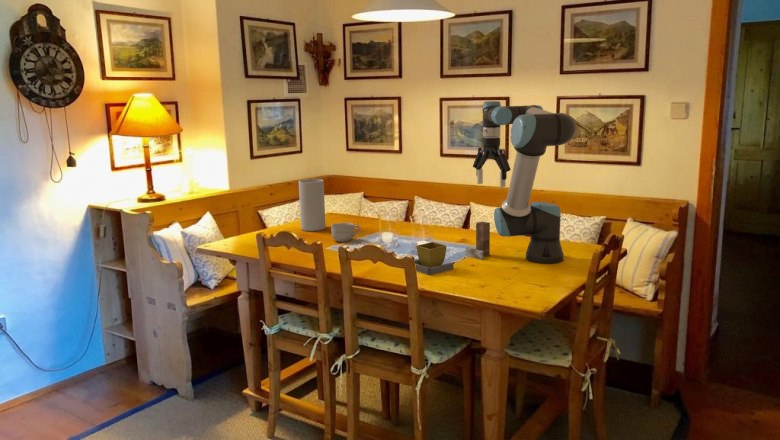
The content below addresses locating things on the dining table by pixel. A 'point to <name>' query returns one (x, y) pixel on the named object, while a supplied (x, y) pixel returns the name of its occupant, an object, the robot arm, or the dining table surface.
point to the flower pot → (431, 254)
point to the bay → (433, 268)
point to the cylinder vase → (312, 204)
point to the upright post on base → (481, 241)
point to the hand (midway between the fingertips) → (491, 185)
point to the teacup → (344, 231)
